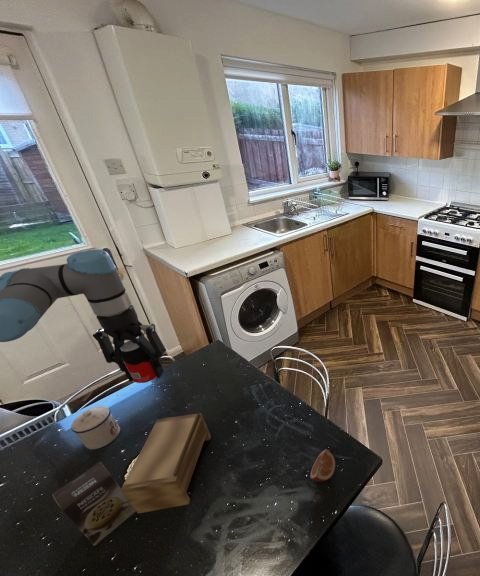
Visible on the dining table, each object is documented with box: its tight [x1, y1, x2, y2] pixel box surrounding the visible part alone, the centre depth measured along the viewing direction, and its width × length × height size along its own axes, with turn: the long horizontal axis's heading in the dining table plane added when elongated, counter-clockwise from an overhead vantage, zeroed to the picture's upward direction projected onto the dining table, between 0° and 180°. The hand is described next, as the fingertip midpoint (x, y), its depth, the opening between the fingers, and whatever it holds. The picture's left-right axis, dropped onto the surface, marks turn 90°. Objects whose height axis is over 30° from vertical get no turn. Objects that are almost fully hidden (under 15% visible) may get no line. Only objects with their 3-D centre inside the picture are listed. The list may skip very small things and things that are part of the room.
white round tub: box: [70, 405, 121, 450], centre depth 96 cm, size 12×9×12 cm
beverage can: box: [120, 340, 157, 384], centre depth 87 cm, size 6×6×12 cm
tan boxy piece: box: [120, 412, 212, 514], centre depth 86 cm, size 12×20×12 cm, turn 11°
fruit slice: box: [309, 448, 336, 483], centre depth 87 cm, size 8×7×5 cm
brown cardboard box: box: [52, 461, 137, 546], centre depth 74 cm, size 9×6×16 cm
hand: (147, 376), depth 90 cm, fingers closed on beverage can, 6 cm apart
